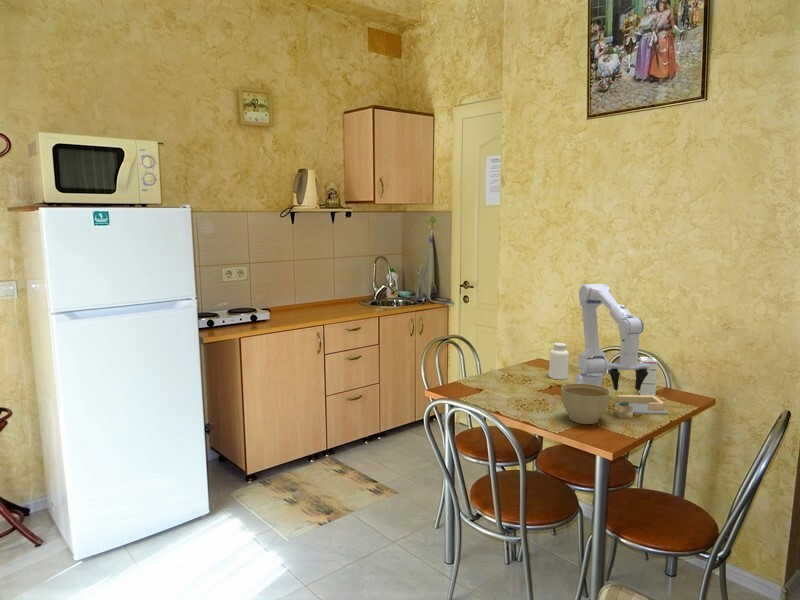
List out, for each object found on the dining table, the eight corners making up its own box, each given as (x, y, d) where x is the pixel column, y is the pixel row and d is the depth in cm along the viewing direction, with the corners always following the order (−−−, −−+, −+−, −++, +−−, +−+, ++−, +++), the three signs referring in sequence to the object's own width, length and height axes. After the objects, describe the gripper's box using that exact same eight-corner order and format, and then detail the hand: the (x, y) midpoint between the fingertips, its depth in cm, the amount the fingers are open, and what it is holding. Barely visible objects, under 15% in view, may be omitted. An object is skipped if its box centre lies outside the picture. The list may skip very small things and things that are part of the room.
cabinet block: (620, 418, 195) (621, 404, 194) (614, 413, 199) (615, 400, 198) (632, 418, 195) (633, 404, 194) (626, 413, 200) (627, 400, 199)
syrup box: (655, 396, 219) (658, 360, 216) (639, 395, 220) (642, 359, 218) (652, 392, 224) (654, 357, 222) (636, 391, 225) (639, 356, 223)
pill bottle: (567, 380, 239) (569, 346, 237) (548, 379, 241) (549, 345, 239) (567, 375, 247) (569, 342, 244) (548, 374, 249) (550, 341, 247)
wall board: (628, 413, 199) (629, 405, 198) (616, 402, 211) (616, 394, 210) (668, 414, 199) (668, 406, 198) (653, 403, 211) (654, 395, 210)
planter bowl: (615, 419, 193) (617, 389, 192) (596, 432, 181) (599, 400, 180) (571, 408, 204) (573, 379, 202) (551, 420, 192) (552, 389, 190)
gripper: (612, 354, 190) (609, 392, 192) (655, 355, 190) (652, 393, 192) (605, 349, 197) (602, 386, 199) (646, 350, 197) (643, 387, 199)
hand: (626, 389), depth 196 cm, fingers open, 7 cm apart
